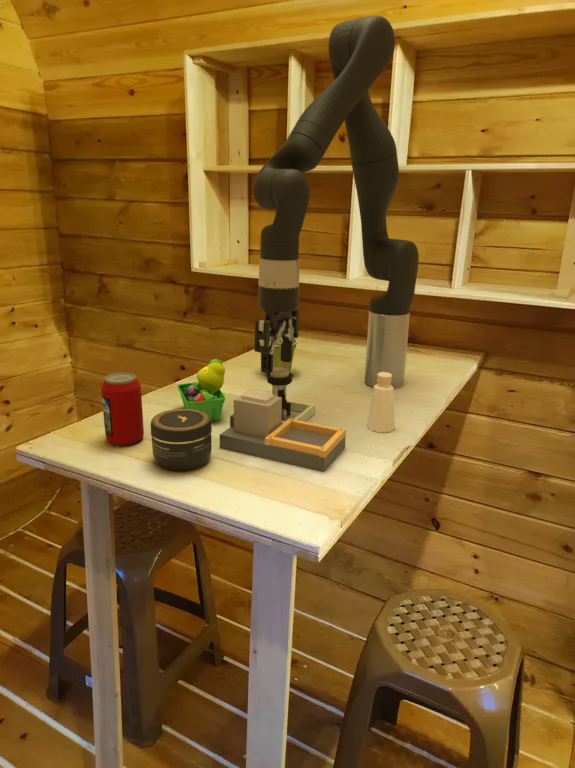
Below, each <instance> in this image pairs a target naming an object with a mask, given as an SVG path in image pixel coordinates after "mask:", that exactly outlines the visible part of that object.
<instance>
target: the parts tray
mask: <svg viewBox="0 0 575 768" xmlns="http://www.w3.org/2000/svg"><path fill="white" fill-rule="evenodd" d="M287 402H288V403H291V411H294V412H299V414H298V415H297V416H295V417H294V418H293V419H295V420H299V421H305V422H307V421H308V420H309V419H310V418H311V417H312V416H314V414H316V405H315V404H312V403H306V402H300V401H296V400H291V399H290V400H289V399H287ZM281 422H282V423H284V422H285V421H283V420H281Z"/></svg>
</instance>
